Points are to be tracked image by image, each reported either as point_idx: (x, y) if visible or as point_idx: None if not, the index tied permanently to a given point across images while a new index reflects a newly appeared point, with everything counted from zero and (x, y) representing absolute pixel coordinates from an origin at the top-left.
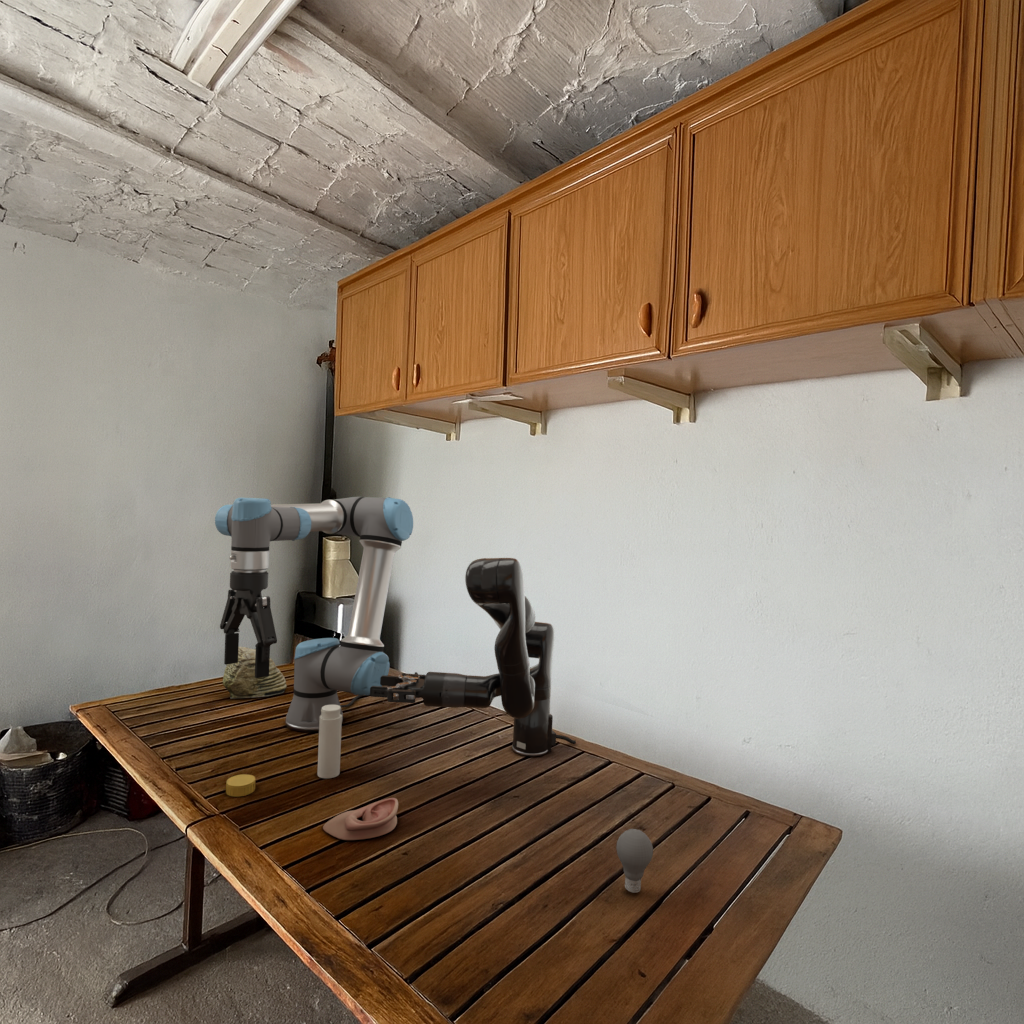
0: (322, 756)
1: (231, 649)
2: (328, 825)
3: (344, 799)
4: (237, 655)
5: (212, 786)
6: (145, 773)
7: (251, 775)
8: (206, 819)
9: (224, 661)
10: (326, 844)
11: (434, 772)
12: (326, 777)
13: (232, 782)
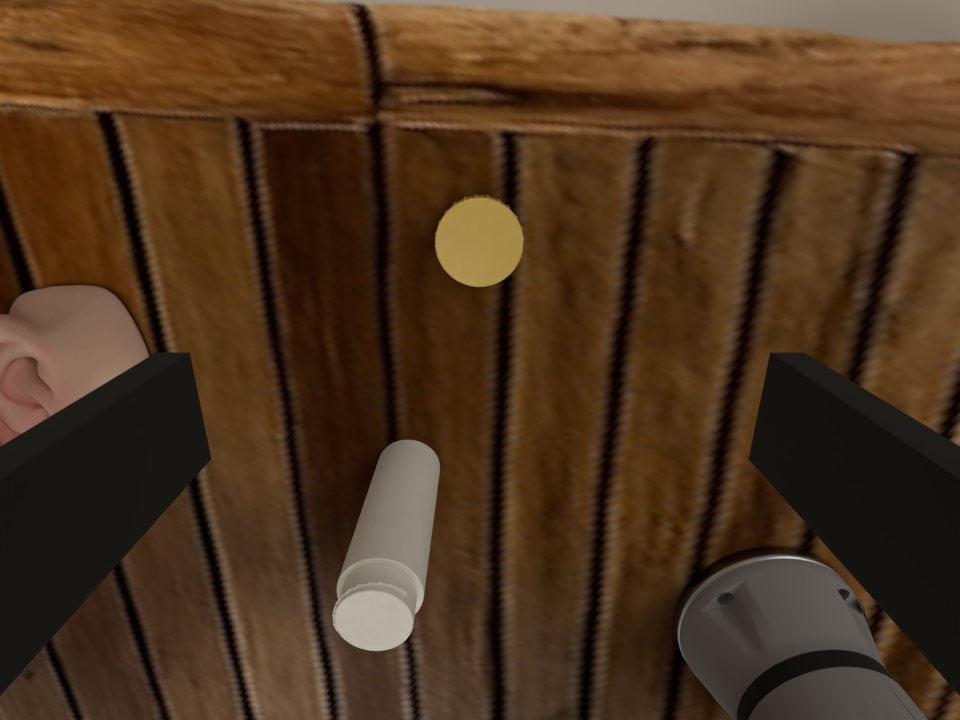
0: (387, 475)
1: (848, 475)
2: (84, 298)
3: (239, 416)
4: (785, 492)
5: (569, 187)
6: (842, 54)
7: (487, 283)
8: (364, 69)
9: (816, 362)
10: (32, 255)
11: (244, 637)
12: (384, 449)
13: (480, 214)
